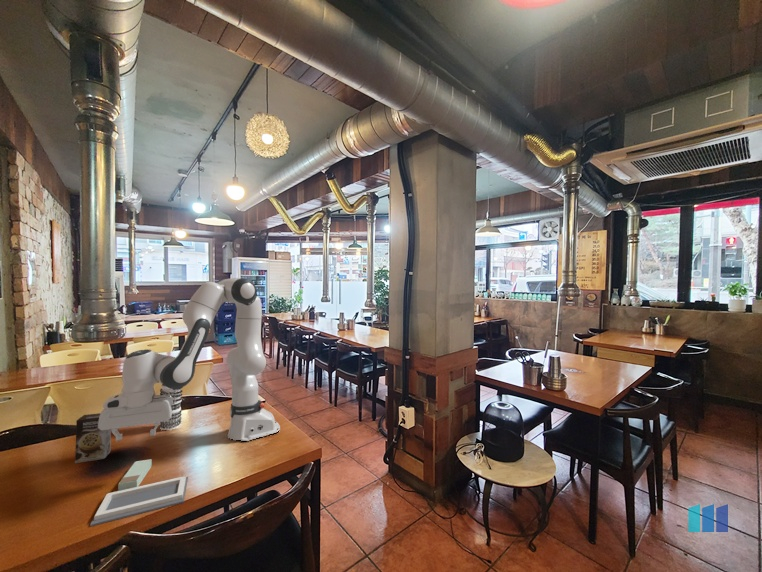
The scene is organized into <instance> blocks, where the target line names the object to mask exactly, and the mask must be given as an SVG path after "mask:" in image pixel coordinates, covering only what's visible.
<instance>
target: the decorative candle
mask: <svg viewBox="0 0 762 572" xmlns="http://www.w3.org/2000/svg"><path fill="white" fill-rule="evenodd" d="M183 388H184V387H182V388H179V389H170V388H168V387H166V386H165V385H164V384H162V383H161V388H160V389H159V392H160V393H159V395H164V394H168V395H170V396H172V397H173V404H172V405H171V409H172V416H171V418H170V419H169V420H168V421H164V422H160V424H159V427H160V428H159V429H161V430H160V431H162V430H169V431H173V430H172V429H174V430H176V429H178V427H179V426H180V425H181V426H182V412H183V411H182V407H181V404H182V403H181V402H182V400H183V399H182V398H183V397H181V396H183V390H182V389H183ZM168 397H169V396H168ZM181 426H180V427H181ZM180 427H179V428H180ZM175 428H176V429H175Z"/></svg>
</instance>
